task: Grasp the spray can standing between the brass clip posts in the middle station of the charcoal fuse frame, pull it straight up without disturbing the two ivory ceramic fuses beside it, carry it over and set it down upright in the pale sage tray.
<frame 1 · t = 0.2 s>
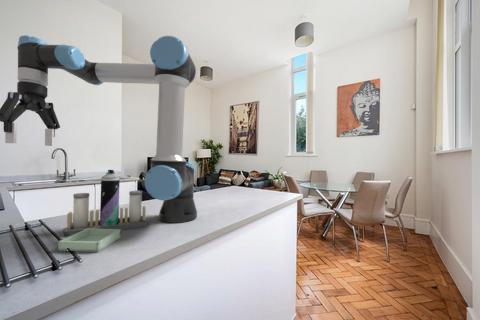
hand: (31, 144, 73), 28 cm above the counter, fingers open, 13 cm apart
tray: (92, 243, 58), on the counter
fuse 2: (134, 224, 76), resting in fuse frame
fuse frame: (109, 227, 72), on the counter
fuse 1: (80, 230, 68), resting in fuse frame
spray can: (109, 227, 72), resting in fuse frame
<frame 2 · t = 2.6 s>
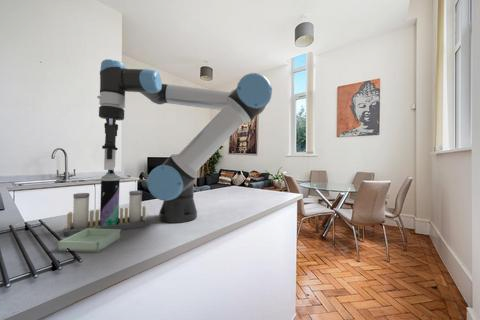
hand: (110, 168, 72), 20 cm above the counter, fingers open, 13 cm apart
nothing on the counter moved.
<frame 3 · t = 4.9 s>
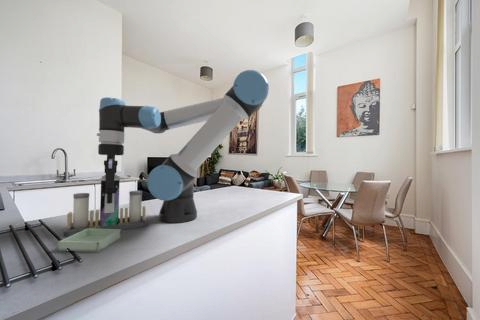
hand: (109, 210, 72), 6 cm above the counter, fingers closed on spray can, 5 cm apart
spray can: (109, 227, 72), resting in fuse frame, touching gripper
everything else where it was.
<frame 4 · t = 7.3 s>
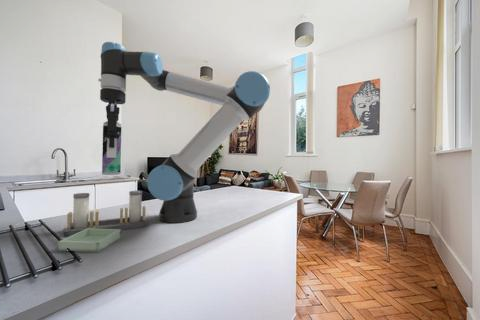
hand: (111, 157, 72), 24 cm above the counter, fingers closed on spray can, 5 cm apart
spray can: (111, 174, 72), point 18 cm above the counter, touching gripper
everything else where it was.
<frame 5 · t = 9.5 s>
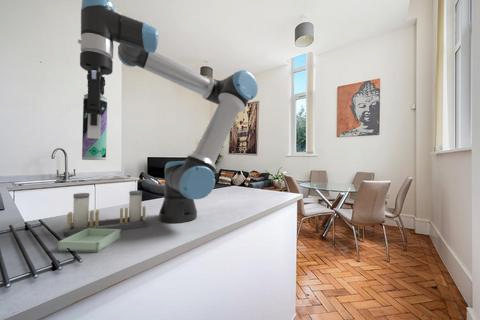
hand: (94, 139, 58), 29 cm above the counter, fingers closed on spray can, 5 cm apart
spray can: (94, 160, 58), point 23 cm above the counter, touching gripper
everything else where it was.
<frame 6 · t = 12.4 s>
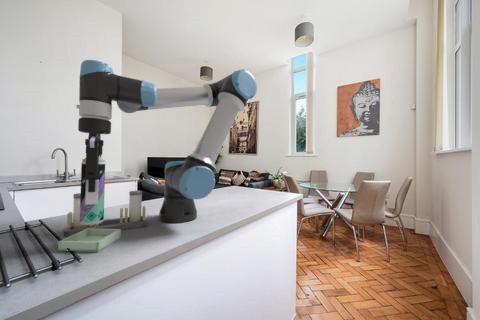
hand: (92, 201, 58), 12 cm above the counter, fingers closed on spray can, 5 cm apart
spray can: (91, 223, 58), point 6 cm above the counter, touching gripper
everything else where it was.
when the fingers open (8 cm above the counter, at t = 14.2 s): spray can drops 1 cm, resting on tray.
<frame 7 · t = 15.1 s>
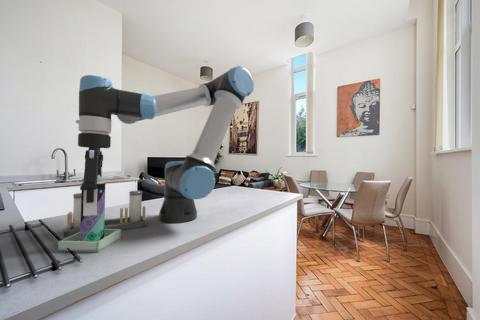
hand: (93, 209, 58), 10 cm above the counter, fingers open, 13 cm apart
spray can: (92, 242, 59), resting on tray
everything else where it was.
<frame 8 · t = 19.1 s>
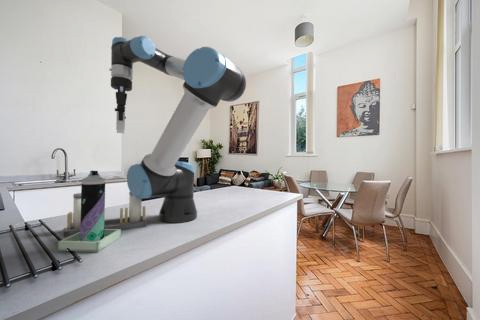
hand: (120, 131, 84), 35 cm above the counter, fingers open, 13 cm apart
nothing on the counter moved.
at the end: spray can inside the target area on the tray (0.1 cm from its centre), point 0.4 cm above the tray's base; spray can tilted 0°; fuse 1 moved 0.0 cm from its start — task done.
